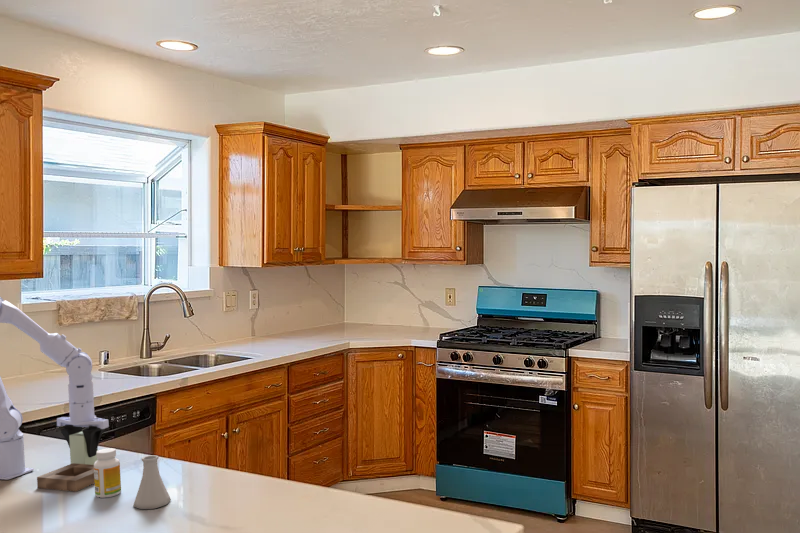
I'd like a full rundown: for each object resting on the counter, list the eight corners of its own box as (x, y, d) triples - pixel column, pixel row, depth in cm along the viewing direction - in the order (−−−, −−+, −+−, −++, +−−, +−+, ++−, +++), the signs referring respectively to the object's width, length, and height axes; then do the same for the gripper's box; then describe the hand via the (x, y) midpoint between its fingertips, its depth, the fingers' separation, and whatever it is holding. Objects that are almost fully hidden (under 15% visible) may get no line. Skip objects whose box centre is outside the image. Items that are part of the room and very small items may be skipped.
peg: (70, 467, 190) (69, 435, 190) (84, 461, 194) (82, 430, 194) (85, 468, 189) (83, 436, 188) (98, 463, 193) (96, 431, 193)
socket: (37, 487, 174) (36, 477, 174) (73, 473, 185) (72, 463, 184) (75, 491, 170) (75, 480, 170) (110, 476, 181) (109, 466, 181)
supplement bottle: (125, 490, 170) (123, 446, 170) (114, 498, 165) (112, 453, 165) (102, 490, 171) (100, 447, 171) (90, 498, 166) (88, 453, 165)
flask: (177, 499, 163) (175, 453, 162) (155, 511, 156) (153, 463, 155) (148, 497, 165) (146, 451, 165) (126, 508, 158) (124, 461, 158)
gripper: (116, 399, 192) (118, 452, 193) (70, 397, 197) (73, 449, 198) (96, 405, 186) (98, 460, 186) (49, 403, 191) (52, 457, 191)
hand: (84, 455), depth 191 cm, fingers closed on peg, 4 cm apart
